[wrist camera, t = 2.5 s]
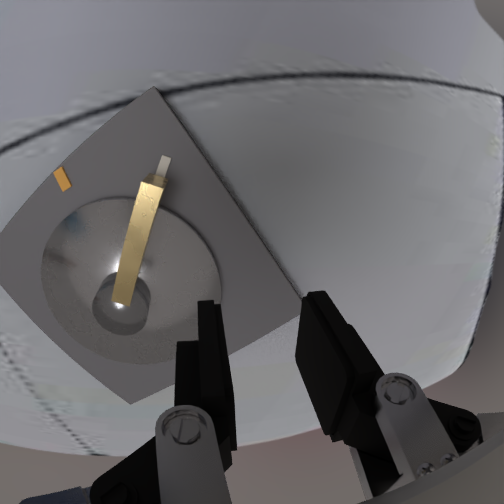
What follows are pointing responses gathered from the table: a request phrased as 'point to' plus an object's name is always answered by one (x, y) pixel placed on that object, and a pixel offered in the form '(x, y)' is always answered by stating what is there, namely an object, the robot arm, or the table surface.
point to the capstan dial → (129, 276)
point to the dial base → (174, 198)
